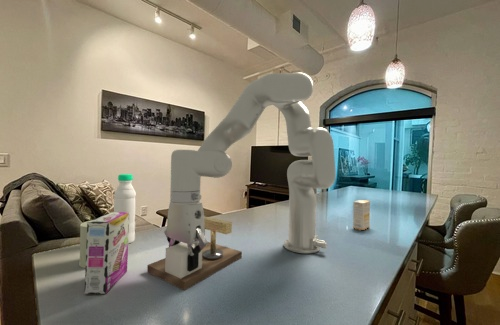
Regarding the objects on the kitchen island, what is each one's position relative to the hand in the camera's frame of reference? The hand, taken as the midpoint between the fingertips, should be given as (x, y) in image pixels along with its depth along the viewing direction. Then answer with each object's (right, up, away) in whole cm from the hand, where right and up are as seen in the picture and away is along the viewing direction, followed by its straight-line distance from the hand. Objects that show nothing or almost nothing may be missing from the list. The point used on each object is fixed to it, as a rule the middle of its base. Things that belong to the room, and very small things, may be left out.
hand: (184, 265), depth 60 cm
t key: (+6, -1, +9) cm, 11 cm away
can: (-28, -3, +8) cm, 29 cm away
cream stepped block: (+1, -1, +1) cm, 2 cm away
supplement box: (+70, -5, +50) cm, 86 cm away
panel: (+2, -3, +8) cm, 9 cm away
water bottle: (-29, -3, +25) cm, 38 cm away
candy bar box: (-18, -3, -3) cm, 18 cm away
